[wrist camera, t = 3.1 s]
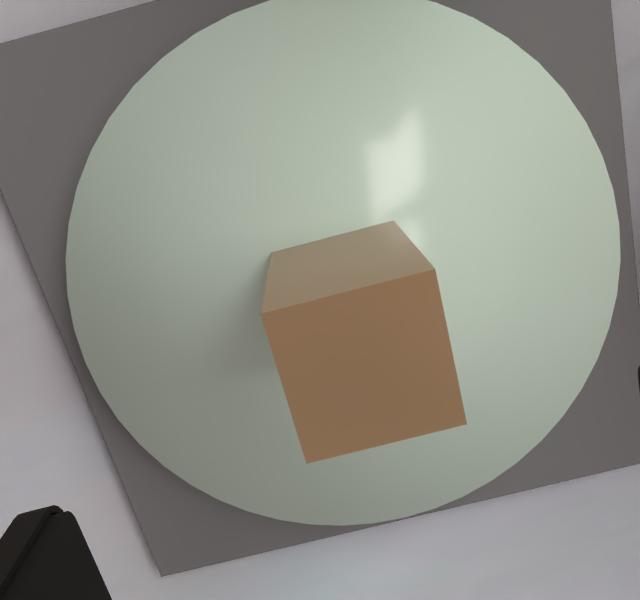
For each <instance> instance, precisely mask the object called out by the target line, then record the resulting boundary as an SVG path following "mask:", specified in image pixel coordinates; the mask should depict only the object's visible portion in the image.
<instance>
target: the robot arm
mask: <svg viewBox="0 0 640 600" xmlns="http://www.w3.org/2000/svg"><path fill="white" fill-rule="evenodd" d="M638 382H639V392H640V366H639V368H638ZM0 600H112V599H111V596H110V594H109V592H108V590H107V587H106V585H105V583H104V581H103V578H102V576H101V574H100V572H99V570H98V567H97V565H96V563H95V561H94V558H93V556H92V554H91V552H90V549H89V547H88V545H87V543H86V540H85V538H84V536H83V534H82V531H81V529H80V527H79V525H78V522H77V520H76V518H75V516H74V515H73V514H72V513H71V512H69V511H66V512H63V510H62V509H61V508H60V507H59V506H55V505H53V506H49V507H45V508H41V509H37V510H33V511H29V512H26V513H22V514H19V515H17V516H16V518H15V519H14V520H13V521H12V523H11V524H10V526H9V527H8V529H7V530H6V532H5V533H4V535H3V536H2V538H1V539H0Z"/></svg>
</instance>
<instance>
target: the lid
mask: <svg viewBox="0 0 640 600" xmlns="http://www.w3.org/2000/svg"><path fill="white" fill-rule="evenodd" d="M620 261H621V257H620V228H619V220H618V214H617V208H616V202H615V197H614V191H613V187H612V184H611V181H610V178H609V175H608V172H607V169H606V165H605V162H604V159H603V156H602V154H601V152H600V150H599V148H598V146H597V144H596V141H595V139H594V137H593V135H592V133H591V131H590V129H589V127H588V125H587V123H586V121H585V120H584V118H583V117H582V115H581V114H580V112H579V111H578V110H577V108H576V107H575V105H574V104H573V102H572V101H571V99H570V98H569V96H568V95H567V93H566V92H565V91H564V89H563V88H562V87H561V86H560V85H559V84H558V83H557V82H556V81H555V80H554V79H553V78H552V76H551V75H550V74H549V73H548V72H547V71H546V70H545V69H544V68H543V67H542V66H541V65H540V63H539V62H537V61H536V60H535V59H534V58H532V57H531V56H530V55H529V54H527V53H526V52H525V51H524V50H522V49H521V48H520V47H519V46H518V45H516V44H515V43H514V42H513V41H511V40H510V39H509V38H507V37H506V36H504V35H502V34H501V33H499V32H497V31H496V30H494V29H492V28H490V27H489V26H487V25H485V24H484V23H482V22H480V21H478V20H477V19H475V18H473V17H471V16H468V15H466V14H463V13H461V12H458V11H456V10H453V9H451V8H449V7H446V6H444V5H441V4H439V3H436V2H432V1H428V0H269V1H266V2H264V3H261V4H258V5H255V6H253V7H250V8H247V9H244V10H241V11H239V12H236V13H233V14H231V15H229V16H227V17H225V18H223V19H221V20H220V21H218V22H216V23H214V24H212V25H210V26H208V27H206V28H205V29H203V30H201V31H199V32H197V33H195V34H194V35H193V36H191V37H190V38H188V39H187V40H186V41H184V42H183V43H182V44H180V45H179V46H178V47H176V48H175V49H173V50H172V51H171V52H169V53H168V54H167V55H165V56H164V57H163V58H162V59H160V60H159V61H158V62H157V63H156V64H155V65H154V66H153V67H152V68H151V69H150V70H149V71H148V72H147V73H146V74H145V75H144V76H143V77H142V78H141V79H140V80H139V81H138V82H137V83H136V84H135V85H134V86H133V87H132V89H131V90H130V91H129V93H128V94H127V95H126V97H125V98H124V99H123V100H122V102H121V103H120V104H119V106H118V107H117V108H116V110H115V111H114V112H113V114H112V115H111V116H110V118H109V119H108V121H107V123H106V125H105V126H104V128H103V130H102V132H101V134H100V135H99V137H98V139H97V141H96V143H95V144H94V146H93V148H92V150H91V152H90V154H89V157H88V159H87V162H86V165H85V167H84V170H83V172H82V175H81V178H80V180H79V183H78V185H77V189H76V193H75V198H74V202H73V206H72V211H71V215H70V219H69V224H68V236H67V248H66V278H67V296H68V301H69V306H70V311H71V316H72V321H73V327H74V331H75V334H76V337H77V340H78V343H79V346H80V349H81V351H82V354H83V357H84V360H85V363H86V365H87V367H88V369H89V371H90V373H91V375H92V377H93V379H94V381H95V383H96V385H97V387H98V389H99V391H100V393H101V395H102V396H103V398H104V399H105V401H106V402H107V404H108V405H109V407H110V408H111V410H112V411H113V413H114V414H115V416H116V417H117V419H118V420H119V421H120V422H121V423H122V425H123V426H124V427H125V428H126V429H127V430H128V432H129V433H130V434H131V435H132V436H133V437H134V438H135V440H136V441H137V442H138V443H139V444H140V445H141V446H142V447H143V448H144V449H145V450H146V451H148V452H149V453H150V454H151V455H152V456H153V457H154V458H155V459H156V460H158V461H159V462H160V463H161V464H162V465H163V466H164V467H166V468H167V469H169V470H170V471H171V472H173V473H174V474H176V475H177V476H179V477H180V478H181V479H183V480H184V481H186V482H187V483H189V484H190V485H192V486H194V487H195V488H197V489H199V490H201V491H203V492H205V493H207V494H209V495H210V496H212V497H214V498H216V499H218V500H220V501H223V502H225V503H228V504H230V505H233V506H235V507H238V508H240V509H243V510H245V511H248V512H252V513H255V514H259V515H263V516H267V517H270V518H274V519H278V520H284V521H290V522H297V523H304V524H311V525H337V526H344V525H358V524H372V523H378V522H384V521H389V520H395V519H400V518H405V517H408V516H412V515H415V514H418V513H422V512H425V511H428V510H432V509H435V508H437V507H440V506H442V505H444V504H447V503H449V502H452V501H454V500H456V499H459V498H461V497H463V496H465V495H467V494H469V493H471V492H472V491H474V490H476V489H478V488H480V487H481V486H483V485H485V484H487V483H488V482H490V481H492V480H493V479H495V478H496V477H498V476H499V475H500V474H502V473H503V472H505V471H506V470H507V469H509V468H510V467H512V466H513V465H514V464H516V463H517V462H518V461H520V460H521V459H522V458H523V457H524V456H525V455H526V454H527V453H528V452H529V451H531V450H532V449H533V448H534V447H535V446H536V445H537V444H538V443H539V442H541V441H542V440H543V438H544V437H545V436H546V435H547V434H548V433H549V432H550V430H551V429H552V428H553V427H554V426H555V425H556V424H557V422H558V421H559V420H560V419H561V418H562V417H563V416H564V414H565V413H566V411H567V410H568V408H569V407H570V405H571V404H572V403H573V401H574V400H575V398H576V397H577V395H578V394H579V392H580V391H581V389H582V388H583V386H584V384H585V382H586V380H587V378H588V376H589V374H590V373H591V371H592V369H593V367H594V365H595V363H596V361H597V359H598V357H599V354H600V351H601V349H602V346H603V343H604V340H605V338H606V335H607V332H608V330H609V327H610V323H611V318H612V314H613V310H614V306H615V301H616V297H617V291H618V281H619V271H620Z"/></svg>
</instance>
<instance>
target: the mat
mask: <svg viewBox="0 0 640 600" xmlns="http://www.w3.org/2000/svg"><path fill="white" fill-rule="evenodd" d="M266 1H269V0H156V1H153V2H149V3H145V4H142V5H138V6H135V7H131V8H127V9H124V10H120V11H117V12H113V13H109V14H106V15H102V16H99V17H95V18H91V19H88V20H84V21H81V22H77V23H73V24H70V25H66V26H62V27H59V28H55V29H52V30H48V31H44V32H41V33H37V34H34V35H30V36H26V37H23V38H19V39H16V40H12V41H8V42H5V43H1V44H0V189H1V192H2V194H3V197H4V199H5V201H6V204H7V206H8V209H9V211H10V213H11V216H12V218H13V221H14V223H15V225H16V228H17V230H18V233H19V235H20V238H21V240H22V242H23V245H24V247H25V250H26V252H27V254H28V257H29V259H30V262H31V264H32V266H33V269H34V271H35V274H36V276H37V278H38V281H39V283H40V286H41V288H42V291H43V293H44V295H45V298H46V300H47V303H48V305H49V307H50V310H51V312H52V315H53V317H54V319H55V322H56V324H57V327H58V329H59V331H60V334H61V336H62V339H63V341H64V343H65V346H66V348H67V351H68V353H69V356H70V358H71V360H72V363H73V365H74V368H75V370H76V372H77V375H78V377H79V380H80V382H81V384H82V387H83V389H84V392H85V394H86V396H87V399H88V401H89V404H90V406H91V409H92V411H93V413H94V416H95V418H96V421H97V423H98V425H99V428H100V430H101V433H102V435H103V437H104V440H105V442H106V445H107V447H108V449H109V452H110V454H111V457H112V459H113V461H114V464H115V466H116V469H117V471H118V474H119V476H120V478H121V481H122V483H123V486H124V488H125V490H126V493H127V495H128V498H129V500H130V502H131V505H132V507H133V510H134V512H135V514H136V517H137V519H138V522H139V524H140V527H141V529H142V531H143V534H144V536H145V539H146V541H147V543H148V546H149V548H150V551H151V553H152V555H153V558H154V560H155V563H156V565H157V567H158V570H159V572H160V575H161V577H162V576H166V575H171V574H175V573H179V572H183V571H188V570H192V569H196V568H200V567H204V566H209V565H213V564H217V563H221V562H226V561H230V560H234V559H238V558H242V557H247V556H251V555H255V554H259V553H263V552H268V551H272V550H276V549H280V548H285V547H289V546H293V545H297V544H301V543H306V542H310V541H314V540H318V539H323V538H327V537H331V536H335V535H339V534H344V533H348V532H352V531H356V530H361V529H365V528H369V527H373V526H377V525H382V524H386V523H390V522H394V521H399V520H403V519H407V518H411V517H415V516H420V515H424V514H428V513H432V512H437V511H441V510H445V509H449V508H453V507H458V506H462V505H466V504H470V503H474V502H479V501H483V500H487V499H491V498H496V497H500V496H504V495H508V494H512V493H517V492H521V491H525V490H529V489H534V488H538V487H542V486H546V485H550V484H555V483H559V482H563V481H567V480H572V479H576V478H580V477H584V476H588V475H593V474H597V473H601V472H605V471H610V470H614V469H618V468H622V467H626V466H631V465H635V464H639V463H640V392H639V382H638V368H639V366H640V307H639V297H638V286H637V275H636V265H635V254H634V244H633V233H632V222H631V212H630V201H629V191H628V180H627V170H626V159H625V148H624V138H623V127H622V117H621V106H620V95H619V85H618V74H617V64H616V53H615V43H614V32H613V21H612V11H611V0H428V1H432V2H436V3H439V4H441V5H444V6H446V7H449V8H451V9H453V10H456V11H458V12H461V13H463V14H466V15H468V16H471V17H473V18H475V19H477V20H478V21H480V22H482V23H484V24H485V25H487V26H489V27H490V28H492V29H494V30H496V31H497V32H499V33H501V34H502V35H504V36H506V37H507V38H509V39H510V40H511V41H513V42H514V43H515V44H516V45H518V46H519V47H520V48H521V49H522V50H524V51H525V52H526V53H527V54H529V55H530V56H531V57H532V58H534V59H535V60H536V61H537V62H539V63H540V65H541V66H542V67H543V68H544V69H545V70H546V71H547V72H548V73H549V74H550V75H551V76H552V78H553V79H554V80H555V81H556V82H557V83H558V84H559V85H560V86H561V87H562V88H563V89H564V91H565V92H566V93H567V95H568V96H569V98H570V99H571V101H572V102H573V104H574V105H575V107H576V108H577V110H578V111H579V112H580V114H581V115H582V117H583V118H584V120H585V121H586V123H587V125H588V127H589V129H590V131H591V133H592V135H593V137H594V139H595V141H596V144H597V146H598V148H599V150H600V152H601V154H602V156H603V159H604V162H605V165H606V169H607V172H608V175H609V178H610V181H611V184H612V187H613V191H614V197H615V202H616V208H617V214H618V220H619V228H620V257H621V261H620V271H619V281H618V291H617V297H616V301H615V306H614V310H613V314H612V318H611V323H610V327H609V330H608V332H607V335H606V338H605V340H604V343H603V346H602V349H601V351H600V354H599V357H598V359H597V361H596V363H595V365H594V367H593V369H592V371H591V373H590V374H589V376H588V378H587V380H586V382H585V384H584V386H583V388H582V389H581V391H580V392H579V394H578V395H577V397H576V398H575V400H574V401H573V403H572V404H571V405H570V407H569V408H568V410H567V411H566V413H565V414H564V416H563V417H562V418H561V419H560V420H559V421H558V422H557V424H556V425H555V426H554V427H553V428H552V429H551V430H550V432H549V433H548V434H547V435H546V436H545V437H544V438H543V440H542V441H541V442H539V443H538V444H537V445H536V446H535V447H534V448H533V449H532V450H531V451H529V452H528V453H527V454H526V455H525V456H524V457H523V458H522V459H521V460H520V461H518V462H517V463H516V464H514V465H513V466H512V467H510V468H509V469H507V470H506V471H505V472H503V473H502V474H500V475H499V476H498V477H496V478H495V479H493V480H492V481H490V482H488V483H487V484H485V485H483V486H481V487H480V488H478V489H476V490H474V491H472V492H471V493H469V494H467V495H465V496H463V497H461V498H459V499H456V500H454V501H452V502H449V503H447V504H444V505H442V506H440V507H437V508H435V509H432V510H428V511H425V512H422V513H418V514H415V515H412V516H408V517H405V518H400V519H395V520H389V521H384V522H378V523H372V524H358V525H344V526H337V525H311V524H304V523H297V522H290V521H284V520H278V519H274V518H270V517H267V516H263V515H259V514H255V513H252V512H248V511H245V510H243V509H240V508H238V507H235V506H233V505H230V504H228V503H225V502H223V501H220V500H218V499H216V498H214V497H212V496H210V495H209V494H207V493H205V492H203V491H201V490H199V489H197V488H195V487H194V486H192V485H190V484H189V483H187V482H186V481H184V480H183V479H181V478H180V477H179V476H177V475H176V474H174V473H173V472H171V471H170V470H169V469H167V468H166V467H164V466H163V465H162V464H161V463H160V462H159V461H158V460H156V459H155V458H154V457H153V456H152V455H151V454H150V453H149V452H148V451H146V450H145V449H144V448H143V447H142V446H141V445H140V444H139V443H138V442H137V441H136V440H135V438H134V437H133V436H132V435H131V434H130V433H129V432H128V430H127V429H126V428H125V427H124V426H123V425H122V423H121V422H120V421H119V420H118V419H117V417H116V416H115V414H114V413H113V411H112V410H111V408H110V407H109V405H108V404H107V402H106V401H105V399H104V398H103V396H102V395H101V393H100V391H99V389H98V387H97V385H96V383H95V381H94V379H93V377H92V375H91V373H90V371H89V369H88V367H87V365H86V363H85V360H84V357H83V354H82V351H81V349H80V346H79V343H78V340H77V337H76V334H75V331H74V327H73V321H72V316H71V311H70V306H69V301H68V296H67V278H66V248H67V236H68V224H69V219H70V215H71V211H72V206H73V202H74V198H75V193H76V189H77V185H78V183H79V180H80V178H81V175H82V172H83V170H84V167H85V165H86V162H87V159H88V157H89V154H90V152H91V150H92V148H93V146H94V144H95V143H96V141H97V139H98V137H99V135H100V134H101V132H102V130H103V128H104V126H105V125H106V123H107V121H108V119H109V118H110V116H111V115H112V114H113V112H114V111H115V110H116V108H117V107H118V106H119V104H120V103H121V102H122V100H123V99H124V98H125V97H126V95H127V94H128V93H129V91H130V90H131V89H132V87H133V86H134V85H135V84H136V83H137V82H138V81H139V80H140V79H141V78H142V77H143V76H144V75H145V74H146V73H147V72H148V71H149V70H150V69H151V68H152V67H153V66H154V65H155V64H156V63H157V62H158V61H159V60H160V59H162V58H163V57H164V56H165V55H167V54H168V53H169V52H171V51H172V50H173V49H175V48H176V47H178V46H179V45H180V44H182V43H183V42H184V41H186V40H187V39H188V38H190V37H191V36H193V35H194V34H195V33H197V32H199V31H201V30H203V29H205V28H206V27H208V26H210V25H212V24H214V23H216V22H218V21H220V20H221V19H223V18H225V17H227V16H229V15H231V14H233V13H236V12H239V11H241V10H244V9H247V8H250V7H253V6H255V5H258V4H261V3H264V2H266Z"/></svg>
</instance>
